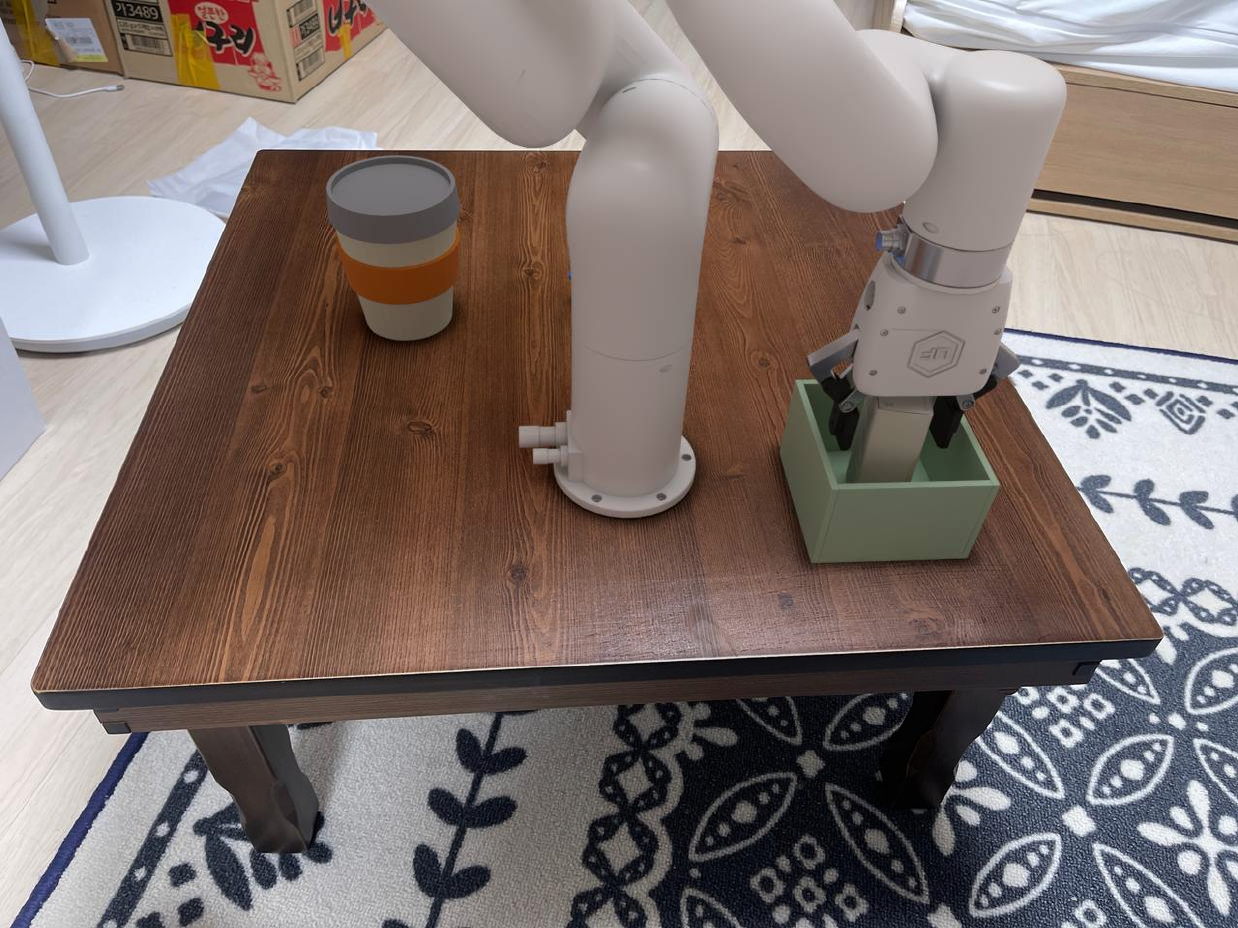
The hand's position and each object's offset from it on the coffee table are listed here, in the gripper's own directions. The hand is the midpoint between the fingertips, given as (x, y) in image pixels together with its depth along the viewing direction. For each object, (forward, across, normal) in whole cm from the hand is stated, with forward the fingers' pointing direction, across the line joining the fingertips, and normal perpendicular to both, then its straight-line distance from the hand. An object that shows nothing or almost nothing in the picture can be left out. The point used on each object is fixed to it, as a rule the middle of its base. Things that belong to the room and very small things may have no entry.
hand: (889, 437), depth 76 cm
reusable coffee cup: (+8, -42, +29) cm, 52 cm away
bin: (+8, 0, 0) cm, 8 cm away
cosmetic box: (+7, 0, 0) cm, 7 cm away
